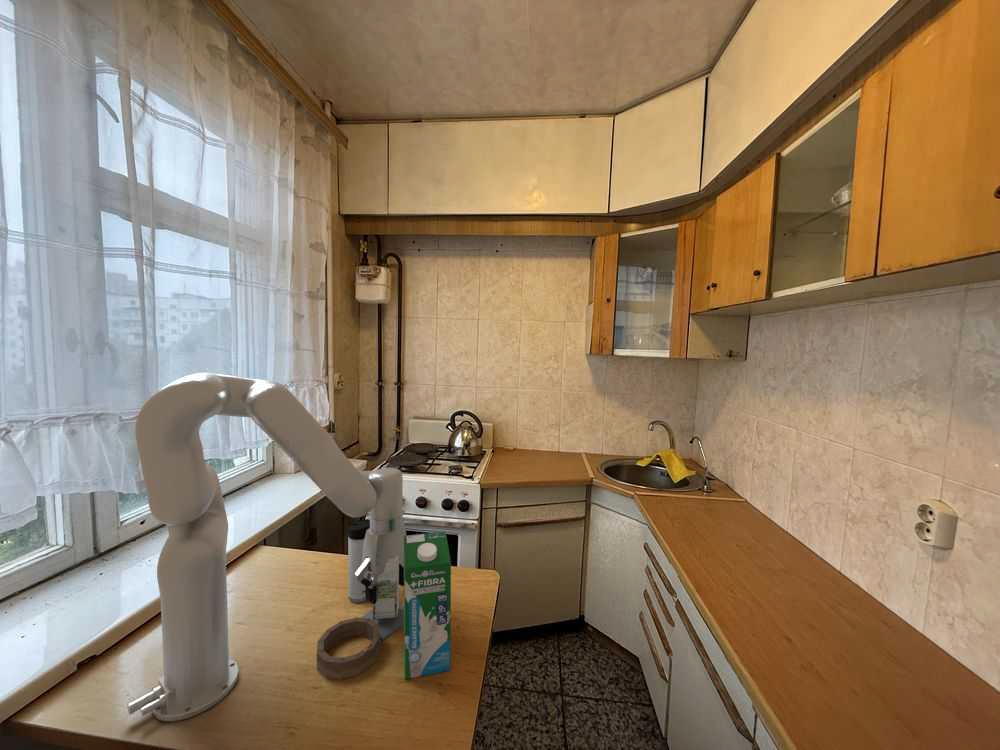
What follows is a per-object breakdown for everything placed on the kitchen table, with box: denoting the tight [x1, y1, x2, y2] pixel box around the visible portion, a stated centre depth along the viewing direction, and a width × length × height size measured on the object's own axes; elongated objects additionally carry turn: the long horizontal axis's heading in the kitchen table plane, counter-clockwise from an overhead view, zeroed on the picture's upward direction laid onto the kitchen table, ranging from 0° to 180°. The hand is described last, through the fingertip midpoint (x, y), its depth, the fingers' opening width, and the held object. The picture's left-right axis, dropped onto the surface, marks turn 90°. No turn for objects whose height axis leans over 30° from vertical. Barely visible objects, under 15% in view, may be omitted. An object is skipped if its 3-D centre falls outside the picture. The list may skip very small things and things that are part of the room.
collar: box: [316, 616, 382, 681], centre depth 79 cm, size 12×12×4 cm
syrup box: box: [372, 555, 400, 620], centre depth 90 cm, size 6×6×14 cm
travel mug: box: [347, 518, 373, 604], centre depth 98 cm, size 6×7×20 cm
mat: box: [360, 603, 404, 642], centre depth 90 cm, size 10×10×1 cm
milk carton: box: [403, 530, 452, 680], centre depth 78 cm, size 9×9×25 cm
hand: (386, 592), depth 90 cm, fingers closed on syrup box, 7 cm apart
